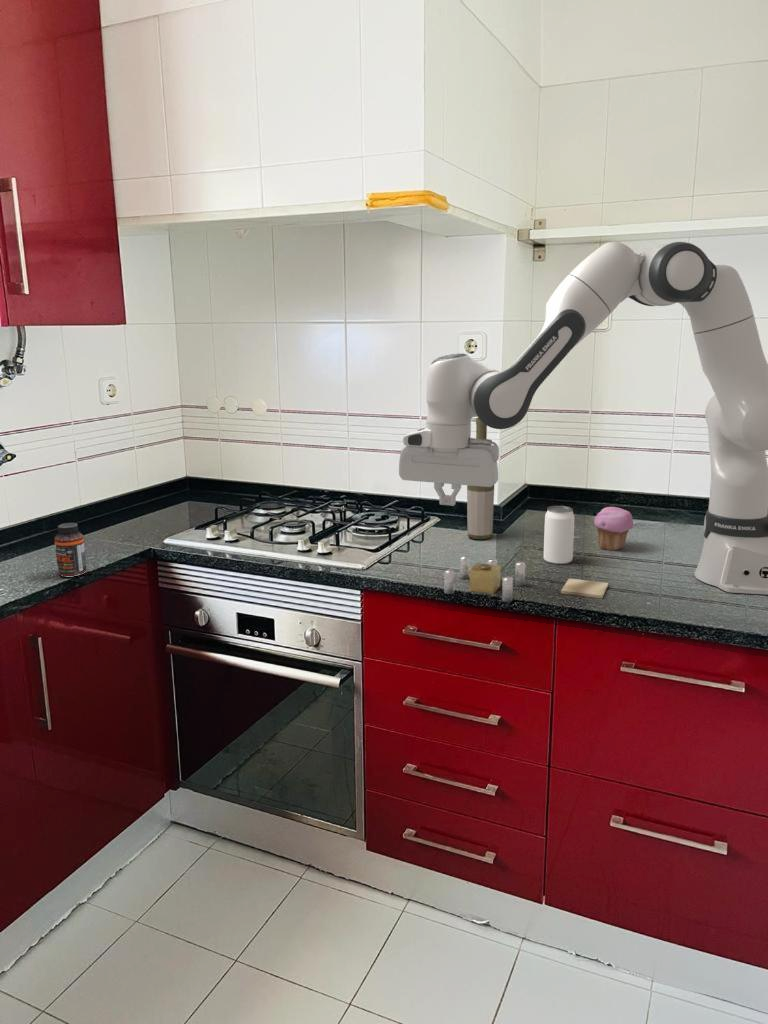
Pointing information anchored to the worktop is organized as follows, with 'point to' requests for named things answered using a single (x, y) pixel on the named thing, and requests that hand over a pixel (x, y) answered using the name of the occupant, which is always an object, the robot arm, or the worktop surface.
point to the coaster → (584, 588)
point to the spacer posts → (507, 581)
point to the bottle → (480, 501)
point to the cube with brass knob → (484, 578)
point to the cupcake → (613, 527)
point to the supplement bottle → (70, 550)
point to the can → (559, 535)
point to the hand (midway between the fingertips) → (447, 504)
